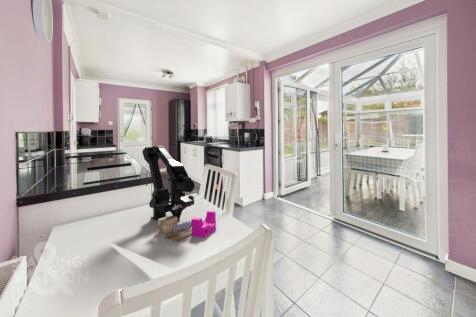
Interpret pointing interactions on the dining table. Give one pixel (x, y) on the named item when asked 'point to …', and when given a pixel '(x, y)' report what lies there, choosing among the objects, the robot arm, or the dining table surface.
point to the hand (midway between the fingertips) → (177, 222)
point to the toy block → (204, 225)
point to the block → (167, 224)
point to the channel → (181, 226)
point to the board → (179, 235)
